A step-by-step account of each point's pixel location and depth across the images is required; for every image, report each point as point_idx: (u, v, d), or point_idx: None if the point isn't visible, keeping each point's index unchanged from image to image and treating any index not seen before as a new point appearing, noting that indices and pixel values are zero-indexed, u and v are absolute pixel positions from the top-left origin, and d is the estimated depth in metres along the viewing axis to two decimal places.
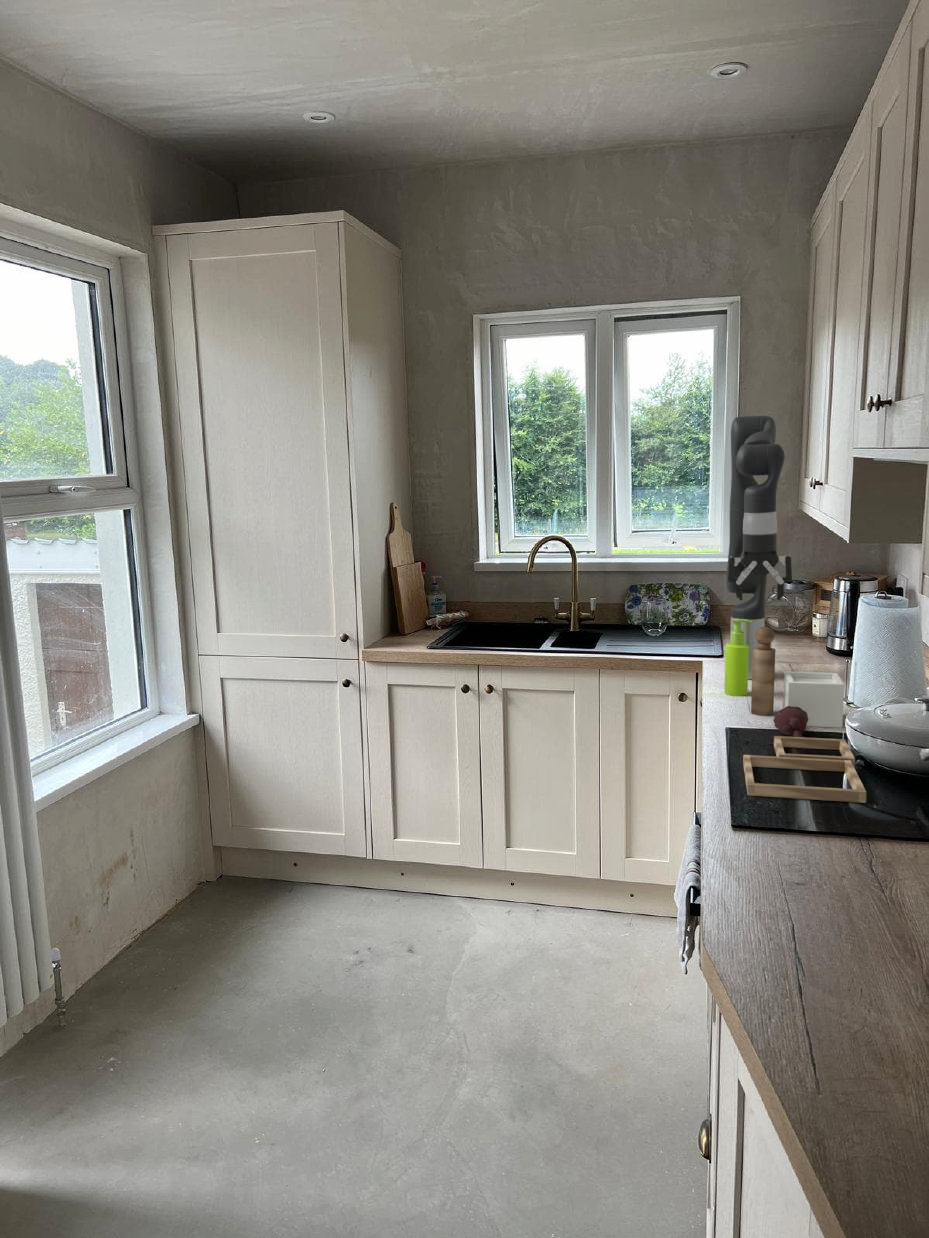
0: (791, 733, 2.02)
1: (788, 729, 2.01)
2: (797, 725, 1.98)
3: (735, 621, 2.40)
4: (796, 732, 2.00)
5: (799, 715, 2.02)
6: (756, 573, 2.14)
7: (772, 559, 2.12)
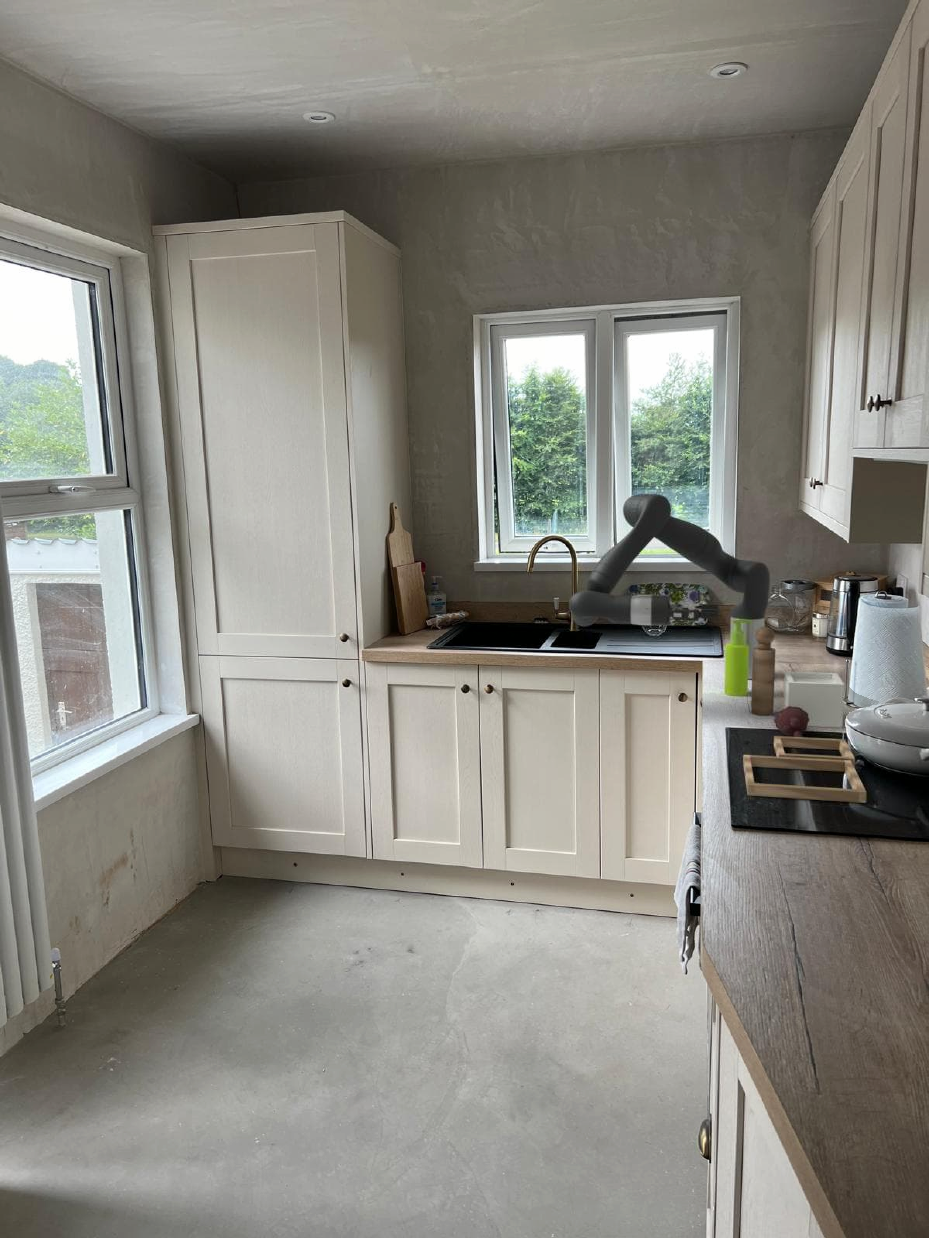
0: (792, 733, 2.02)
1: (789, 729, 2.01)
2: (797, 725, 1.98)
3: (735, 621, 2.40)
4: (797, 732, 2.00)
5: (800, 715, 2.02)
6: None
7: None
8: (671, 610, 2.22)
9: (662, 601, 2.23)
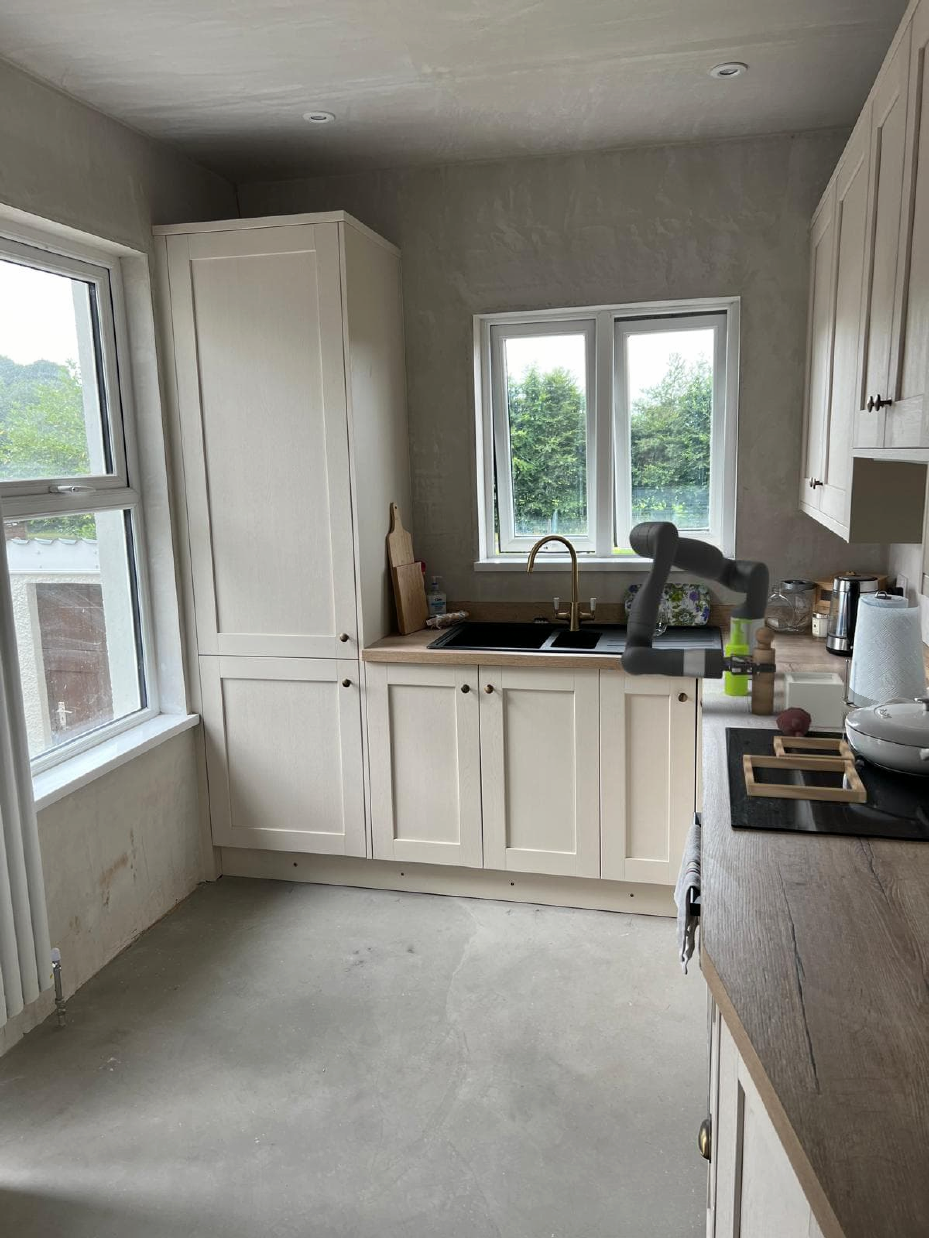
0: (793, 734, 2.01)
1: (790, 730, 2.00)
2: (798, 726, 1.97)
3: (735, 621, 2.40)
4: (798, 733, 1.99)
5: (801, 716, 2.01)
6: None
7: None
8: (725, 664, 2.21)
9: (716, 655, 2.22)
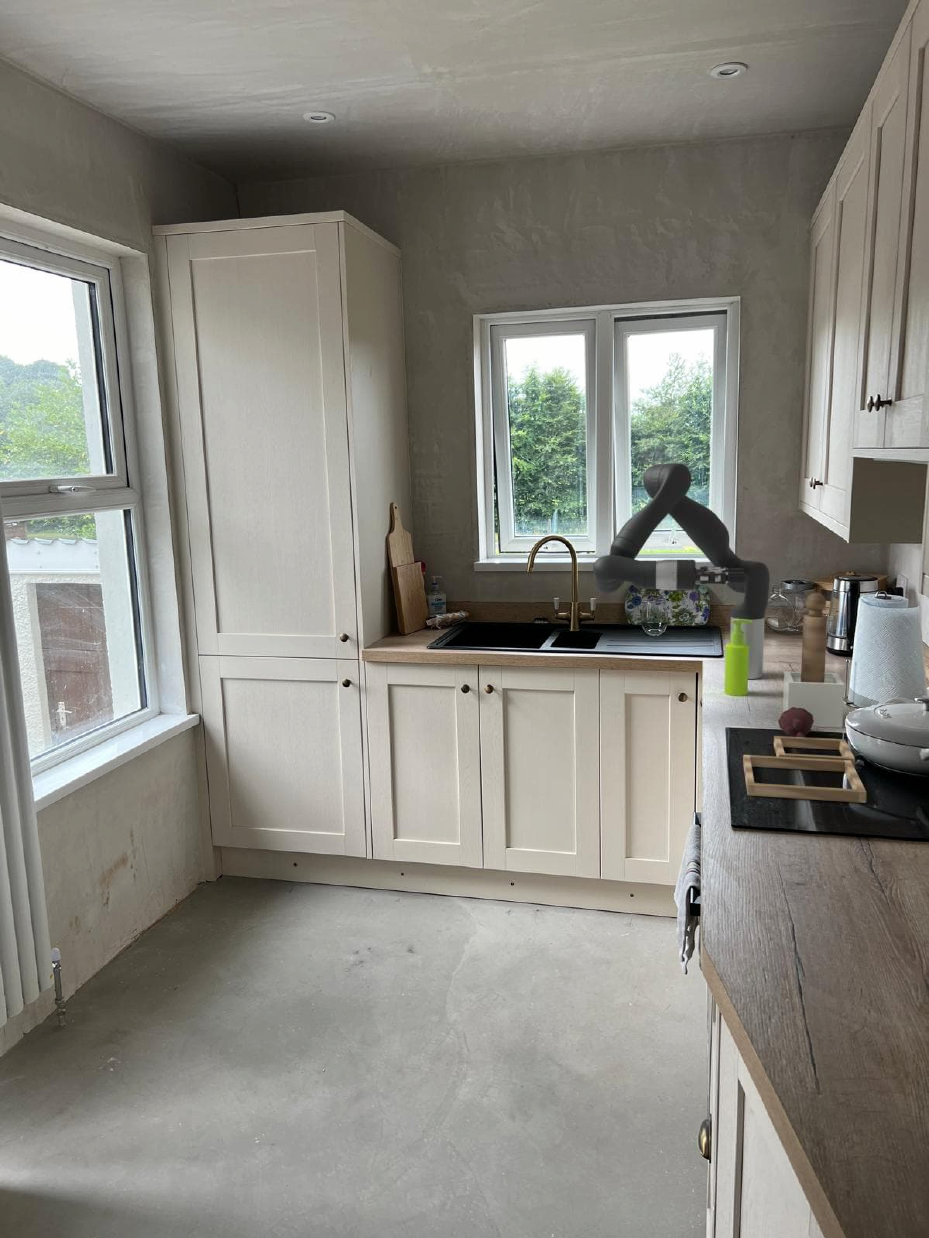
0: (795, 734, 2.01)
1: (791, 730, 2.00)
2: (799, 726, 1.97)
3: (735, 621, 2.40)
4: (799, 734, 1.99)
5: (803, 716, 2.01)
6: None
7: None
8: (697, 574, 2.19)
9: (688, 565, 2.20)
